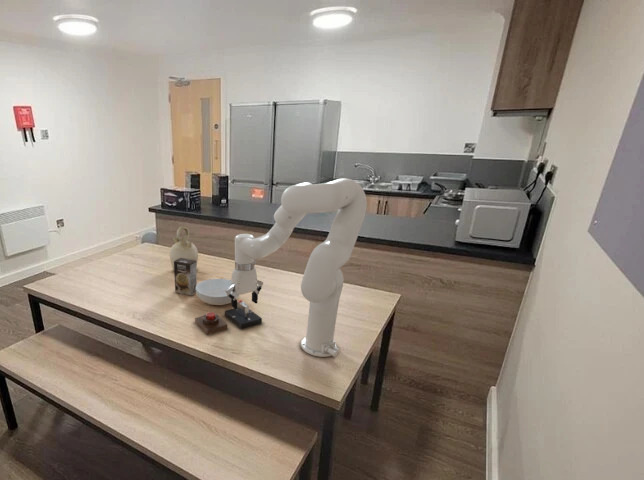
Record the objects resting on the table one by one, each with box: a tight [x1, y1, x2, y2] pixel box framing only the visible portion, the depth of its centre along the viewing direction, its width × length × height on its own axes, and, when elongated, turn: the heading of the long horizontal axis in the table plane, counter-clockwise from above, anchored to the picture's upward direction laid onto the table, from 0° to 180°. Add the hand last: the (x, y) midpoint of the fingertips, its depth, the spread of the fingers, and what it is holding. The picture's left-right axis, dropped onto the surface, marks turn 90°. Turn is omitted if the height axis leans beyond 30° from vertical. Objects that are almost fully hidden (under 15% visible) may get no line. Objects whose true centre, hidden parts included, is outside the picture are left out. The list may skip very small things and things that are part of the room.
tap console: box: [224, 308, 263, 330], centre depth 157 cm, size 13×10×3 cm
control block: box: [194, 313, 228, 335], centre depth 152 cm, size 11×9×4 cm
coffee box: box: [173, 258, 198, 296], centre depth 180 cm, size 9×6×16 cm
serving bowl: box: [195, 278, 240, 306], centre depth 173 cm, size 21×21×7 cm
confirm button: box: [205, 311, 216, 320], centre depth 151 cm, size 4×4×2 cm
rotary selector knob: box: [237, 299, 250, 318], centre depth 155 cm, size 6×2×5 cm, turn 28°
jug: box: [169, 226, 199, 271], centre depth 204 cm, size 15×16×25 cm
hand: (244, 305), depth 154 cm, fingers open, 9 cm apart
